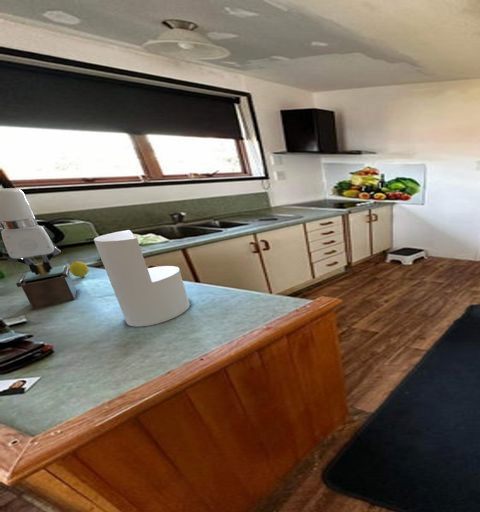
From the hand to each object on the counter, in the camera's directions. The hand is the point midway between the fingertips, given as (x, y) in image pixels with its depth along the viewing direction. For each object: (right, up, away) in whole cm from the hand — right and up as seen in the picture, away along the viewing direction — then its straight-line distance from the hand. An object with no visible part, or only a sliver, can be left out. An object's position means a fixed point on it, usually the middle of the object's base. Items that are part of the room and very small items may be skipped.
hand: (43, 272), depth 101 cm
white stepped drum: (+50, -14, -8) cm, 52 cm away
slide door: (-2, -1, +2) cm, 3 cm away
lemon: (-13, -4, +25) cm, 29 cm away
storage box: (0, -11, +4) cm, 11 cm away
